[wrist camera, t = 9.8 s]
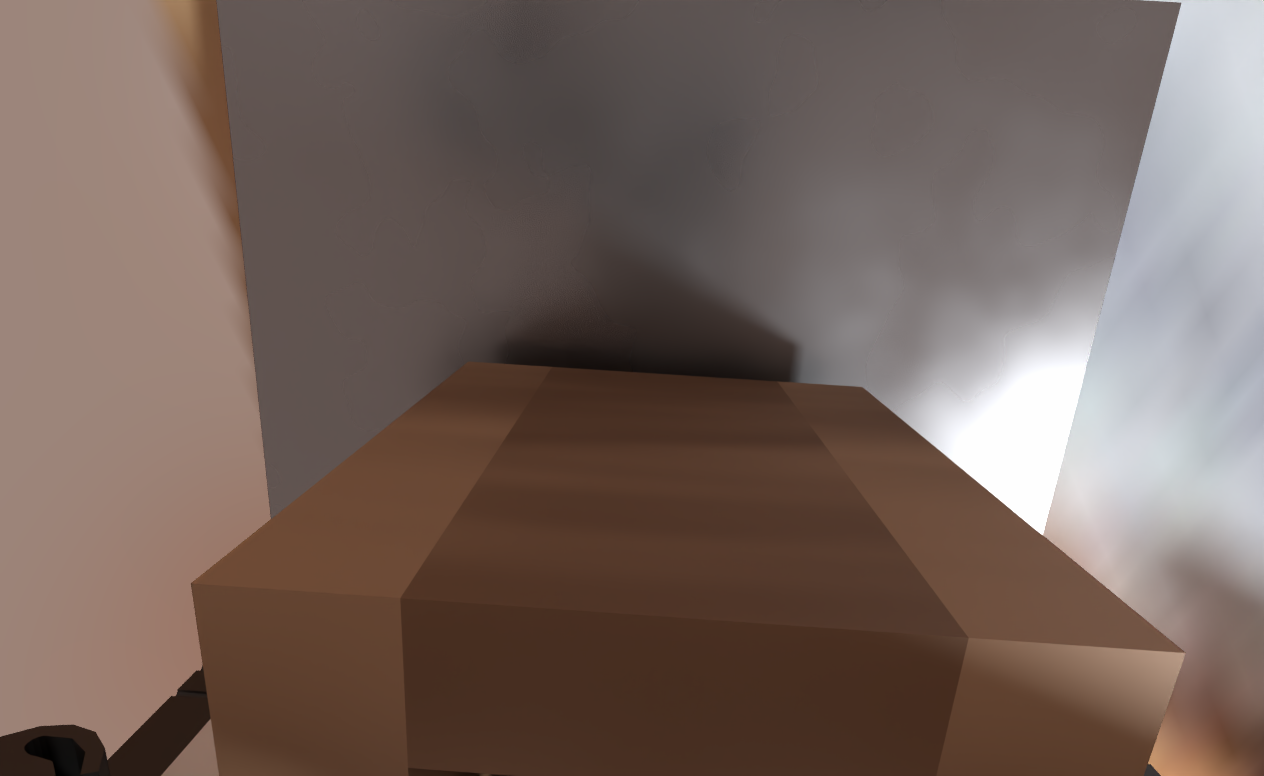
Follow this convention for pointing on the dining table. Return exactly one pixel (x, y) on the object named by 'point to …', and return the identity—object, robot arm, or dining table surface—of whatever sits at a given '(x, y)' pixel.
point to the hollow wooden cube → (665, 599)
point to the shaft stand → (687, 204)
